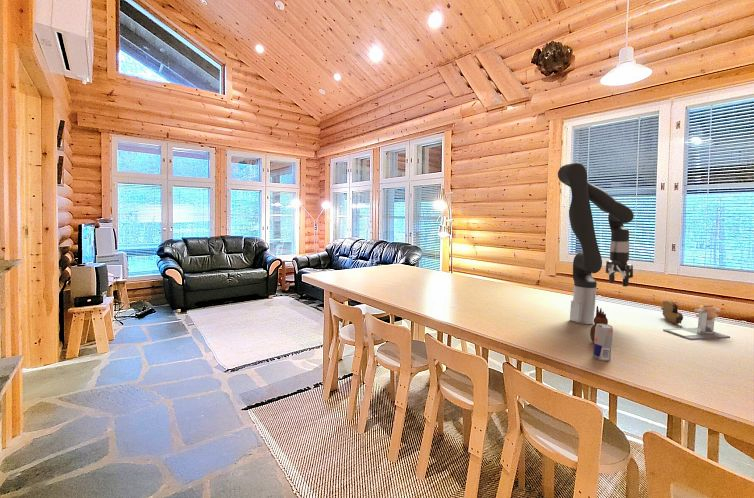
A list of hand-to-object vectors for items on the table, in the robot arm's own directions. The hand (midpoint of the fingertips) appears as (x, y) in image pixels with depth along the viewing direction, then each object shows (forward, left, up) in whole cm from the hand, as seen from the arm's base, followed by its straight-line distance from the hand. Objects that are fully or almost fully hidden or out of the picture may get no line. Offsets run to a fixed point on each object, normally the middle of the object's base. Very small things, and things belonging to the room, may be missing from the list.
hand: (618, 284), depth 175 cm
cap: (+26, -21, -11) cm, 35 cm away
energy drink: (-41, -39, -18) cm, 60 cm away
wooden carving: (+28, -3, -18) cm, 33 cm away
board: (+21, -21, -18) cm, 34 cm away
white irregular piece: (+26, -21, -18) cm, 38 cm away
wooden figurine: (-31, -26, -18) cm, 45 cm away
